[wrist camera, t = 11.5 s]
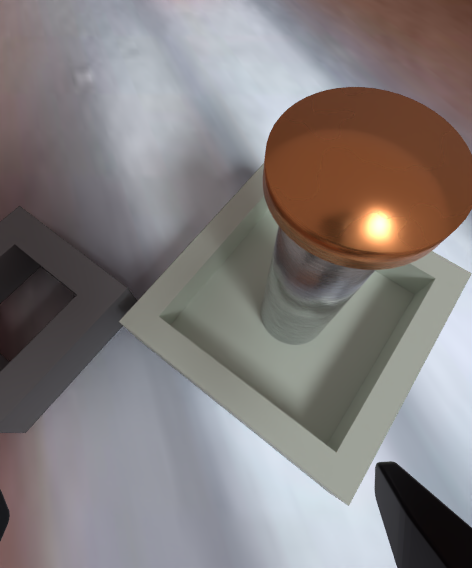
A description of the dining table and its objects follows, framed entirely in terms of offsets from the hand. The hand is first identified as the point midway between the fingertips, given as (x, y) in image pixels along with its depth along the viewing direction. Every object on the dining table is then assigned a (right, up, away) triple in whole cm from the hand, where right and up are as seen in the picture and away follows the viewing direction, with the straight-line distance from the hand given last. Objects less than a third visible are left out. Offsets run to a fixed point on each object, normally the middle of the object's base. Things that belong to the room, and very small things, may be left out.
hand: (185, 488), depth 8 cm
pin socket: (-12, +3, +14) cm, 18 cm away
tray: (+5, +3, +14) cm, 15 cm away
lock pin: (+5, +3, +13) cm, 14 cm away
